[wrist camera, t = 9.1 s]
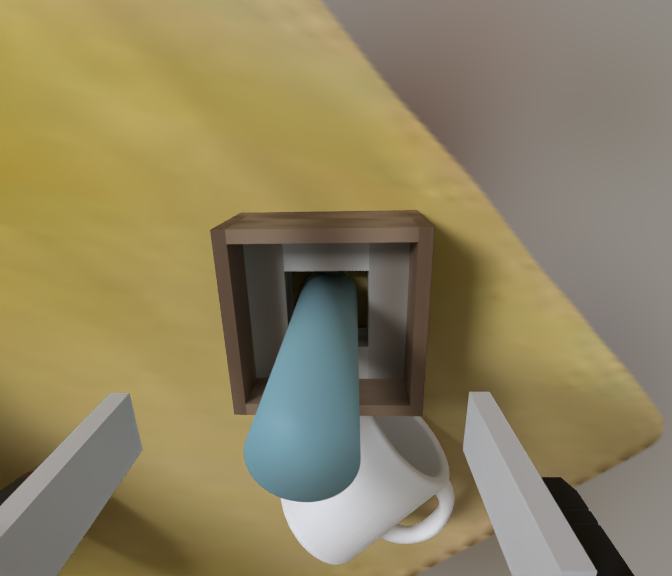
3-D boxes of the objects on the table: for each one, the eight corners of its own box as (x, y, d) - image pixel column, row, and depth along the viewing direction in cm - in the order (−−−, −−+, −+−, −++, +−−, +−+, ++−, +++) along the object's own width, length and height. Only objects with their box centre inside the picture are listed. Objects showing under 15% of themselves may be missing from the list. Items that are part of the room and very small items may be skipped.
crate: (256, 365, 31) (234, 414, 25) (240, 212, 26) (210, 229, 21) (409, 366, 30) (422, 416, 24) (416, 210, 26) (434, 227, 20)
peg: (303, 318, 29) (249, 501, 14) (301, 267, 28) (237, 408, 13) (357, 318, 29) (360, 503, 14) (356, 267, 27) (360, 409, 12)
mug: (288, 444, 33) (269, 530, 26) (365, 369, 30) (369, 441, 23) (391, 515, 35) (401, 614, 28) (472, 451, 33) (507, 541, 25)
